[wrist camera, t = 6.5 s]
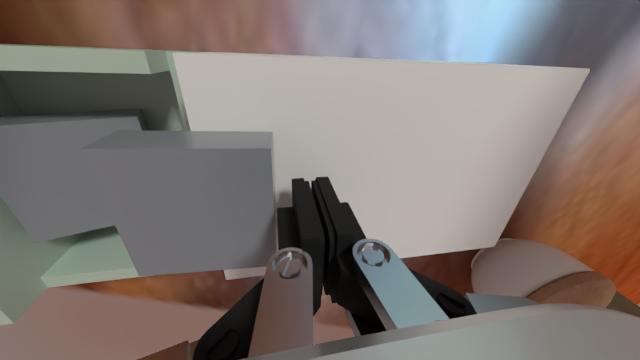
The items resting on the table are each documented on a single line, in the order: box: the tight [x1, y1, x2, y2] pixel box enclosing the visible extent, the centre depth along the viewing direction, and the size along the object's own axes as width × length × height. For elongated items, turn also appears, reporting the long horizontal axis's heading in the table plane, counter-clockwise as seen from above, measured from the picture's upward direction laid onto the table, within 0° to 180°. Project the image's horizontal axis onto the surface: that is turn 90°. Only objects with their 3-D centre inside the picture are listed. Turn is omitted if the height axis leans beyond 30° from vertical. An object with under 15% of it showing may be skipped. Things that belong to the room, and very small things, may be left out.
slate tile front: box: [79, 130, 278, 276], centre depth 10 cm, size 6×6×2 cm
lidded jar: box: [471, 238, 616, 308], centre depth 24 cm, size 11×11×9 cm
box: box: [0, 43, 200, 325], centre depth 12 cm, size 10×12×7 cm
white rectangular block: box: [172, 52, 591, 280], centre depth 15 cm, size 19×12×6 cm, turn 88°
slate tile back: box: [0, 109, 149, 243], centre depth 13 cm, size 6×6×2 cm
